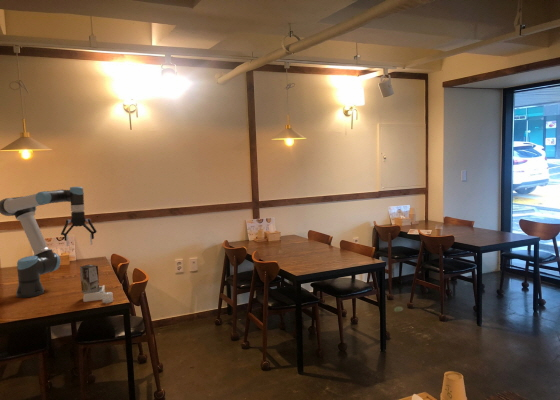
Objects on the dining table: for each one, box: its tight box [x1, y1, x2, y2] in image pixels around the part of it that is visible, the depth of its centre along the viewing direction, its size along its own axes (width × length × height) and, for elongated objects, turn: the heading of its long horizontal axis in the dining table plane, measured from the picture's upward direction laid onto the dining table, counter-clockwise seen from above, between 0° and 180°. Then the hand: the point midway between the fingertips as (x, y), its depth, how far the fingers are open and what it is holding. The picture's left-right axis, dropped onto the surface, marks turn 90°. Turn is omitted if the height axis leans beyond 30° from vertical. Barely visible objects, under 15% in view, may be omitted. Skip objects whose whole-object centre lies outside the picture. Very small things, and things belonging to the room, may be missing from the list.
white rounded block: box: [101, 291, 114, 304], centre depth 251 cm, size 6×6×5 cm
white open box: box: [82, 284, 106, 303], centre depth 260 cm, size 11×14×5 cm
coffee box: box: [79, 264, 100, 294], centre depth 259 cm, size 9×6×16 cm
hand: (79, 245), depth 271 cm, fingers open, 13 cm apart
